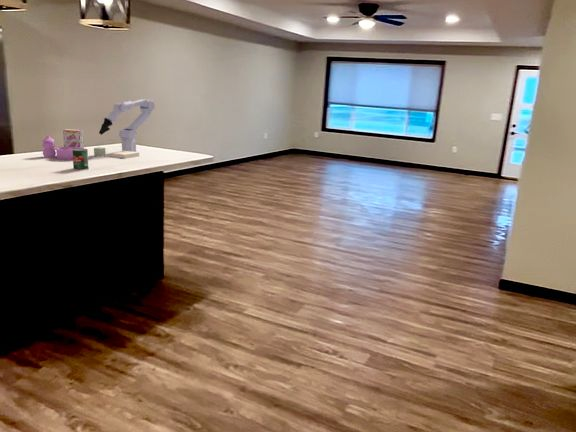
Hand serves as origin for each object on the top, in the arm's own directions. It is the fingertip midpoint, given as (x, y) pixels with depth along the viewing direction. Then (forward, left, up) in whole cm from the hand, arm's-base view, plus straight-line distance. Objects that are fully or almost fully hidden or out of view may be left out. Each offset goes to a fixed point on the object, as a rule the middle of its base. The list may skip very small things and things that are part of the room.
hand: (101, 131), depth 324 cm
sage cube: (0, -2, -16) cm, 16 cm away
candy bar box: (+10, -14, -16) cm, 24 cm away
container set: (+22, -11, -16) cm, 30 cm away
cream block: (-8, +12, -16) cm, 22 cm away
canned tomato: (+43, +25, -16) cm, 52 cm away
